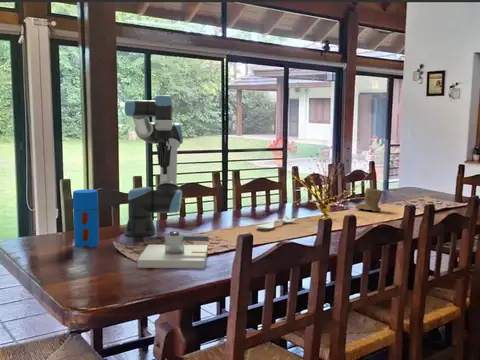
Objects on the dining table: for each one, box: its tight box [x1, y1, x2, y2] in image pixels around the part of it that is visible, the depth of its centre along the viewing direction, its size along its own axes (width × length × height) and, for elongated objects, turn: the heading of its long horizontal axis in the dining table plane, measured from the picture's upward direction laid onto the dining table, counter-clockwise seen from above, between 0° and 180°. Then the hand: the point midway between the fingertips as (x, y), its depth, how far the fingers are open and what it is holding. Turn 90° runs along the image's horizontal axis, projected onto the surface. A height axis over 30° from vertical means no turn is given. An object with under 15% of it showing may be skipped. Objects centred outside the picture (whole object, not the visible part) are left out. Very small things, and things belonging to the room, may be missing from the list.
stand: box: [137, 244, 209, 269], centre depth 204 cm, size 26×24×3 cm
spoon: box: [255, 215, 299, 231], centre depth 270 cm, size 9×32×4 cm, turn 141°
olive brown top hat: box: [354, 187, 383, 212], centre depth 320 cm, size 15×12×15 cm
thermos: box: [72, 189, 100, 249], centre depth 224 cm, size 11×11×25 cm
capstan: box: [164, 230, 209, 254], centre depth 203 cm, size 18×8×8 cm, turn 90°
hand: (164, 181), depth 226 cm, fingers closed
